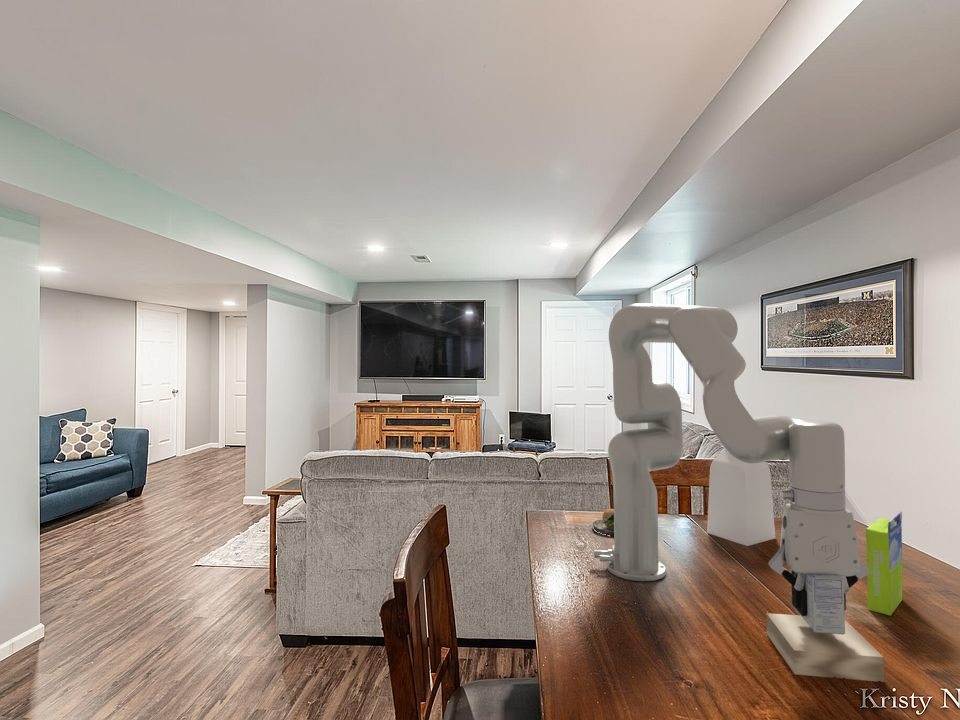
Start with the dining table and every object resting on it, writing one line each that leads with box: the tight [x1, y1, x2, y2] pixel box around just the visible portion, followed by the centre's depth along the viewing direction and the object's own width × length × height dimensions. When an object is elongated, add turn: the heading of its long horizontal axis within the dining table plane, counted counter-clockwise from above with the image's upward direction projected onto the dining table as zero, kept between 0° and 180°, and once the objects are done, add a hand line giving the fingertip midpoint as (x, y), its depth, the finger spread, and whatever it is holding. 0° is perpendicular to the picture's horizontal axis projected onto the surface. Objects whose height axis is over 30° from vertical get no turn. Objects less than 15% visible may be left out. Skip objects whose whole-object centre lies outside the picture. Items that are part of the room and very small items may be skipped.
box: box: [865, 511, 903, 617], centre depth 102 cm, size 10×4×17 cm, turn 132°
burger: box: [592, 503, 614, 537], centre depth 149 cm, size 12×12×8 cm
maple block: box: [766, 612, 885, 683], centre depth 85 cm, size 12×12×4 cm
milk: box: [706, 446, 776, 547], centre depth 143 cm, size 12×12×26 cm
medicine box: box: [794, 574, 846, 635], centre depth 85 cm, size 8×4×9 cm, turn 168°
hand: (818, 612), depth 85 cm, fingers closed on medicine box, 4 cm apart
